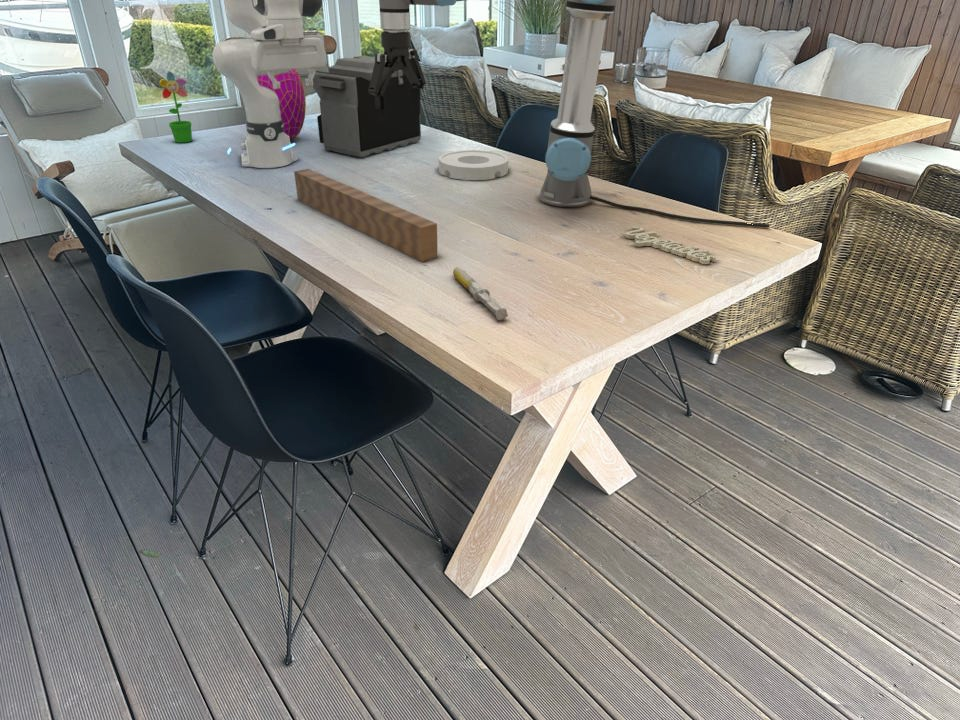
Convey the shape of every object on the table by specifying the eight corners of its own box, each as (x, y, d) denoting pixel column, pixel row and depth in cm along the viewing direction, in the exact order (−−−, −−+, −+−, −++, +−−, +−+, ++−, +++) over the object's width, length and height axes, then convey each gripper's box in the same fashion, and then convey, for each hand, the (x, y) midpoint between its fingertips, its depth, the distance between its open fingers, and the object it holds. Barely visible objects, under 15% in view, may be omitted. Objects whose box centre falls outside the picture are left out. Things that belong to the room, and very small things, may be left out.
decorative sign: (611, 234, 176) (635, 225, 181) (610, 237, 176) (634, 229, 182) (700, 264, 159) (723, 254, 164) (699, 268, 159) (723, 257, 165)
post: (437, 257, 164) (436, 223, 159) (422, 262, 161) (421, 227, 157) (311, 197, 203) (308, 168, 199) (297, 200, 201) (294, 171, 196)
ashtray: (441, 160, 240) (441, 149, 238) (507, 162, 240) (508, 150, 237) (436, 179, 220) (435, 167, 218) (508, 180, 220) (508, 168, 218)
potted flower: (172, 144, 257) (157, 72, 244) (170, 139, 263) (155, 69, 250) (199, 141, 260) (185, 71, 248) (196, 137, 266) (182, 68, 254)
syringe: (449, 274, 155) (449, 263, 153) (465, 272, 156) (464, 260, 154) (490, 323, 135) (491, 310, 133) (508, 319, 136) (508, 307, 134)
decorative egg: (293, 132, 276) (283, 50, 261) (319, 140, 264) (310, 56, 249) (249, 139, 265) (236, 54, 250) (273, 148, 253) (261, 60, 238)
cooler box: (383, 133, 276) (378, 52, 261) (425, 141, 265) (422, 56, 250) (314, 150, 251) (304, 61, 235) (358, 160, 240) (350, 67, 224)
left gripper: (317, 29, 189) (323, 83, 195) (244, 32, 178) (253, 89, 185) (327, 30, 184) (333, 85, 191) (253, 33, 174) (262, 91, 180)
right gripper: (415, 26, 185) (418, 109, 196) (349, 33, 167) (356, 123, 178) (437, 28, 181) (439, 112, 192) (372, 35, 164) (378, 127, 174)
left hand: (293, 87), depth 188 cm, fingers open, 8 cm apart
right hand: (399, 117), depth 185 cm, fingers open, 13 cm apart
